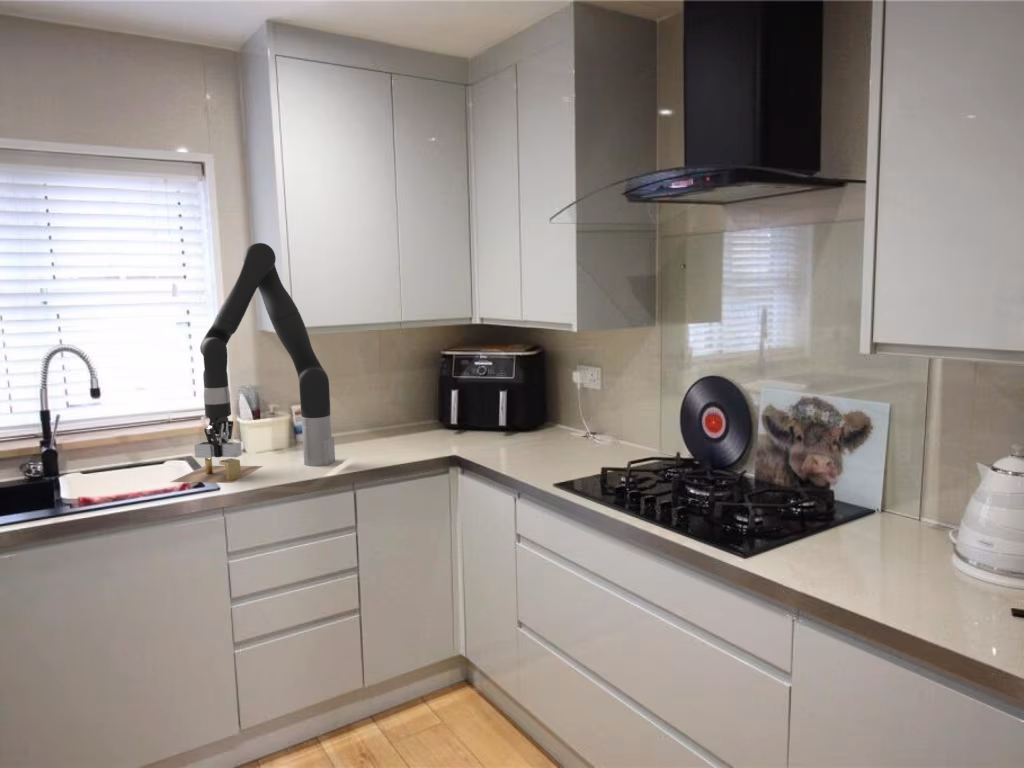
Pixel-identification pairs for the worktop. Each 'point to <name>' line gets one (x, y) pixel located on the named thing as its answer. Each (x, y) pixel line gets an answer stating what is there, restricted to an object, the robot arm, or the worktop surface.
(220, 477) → the board
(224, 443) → the link
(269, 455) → the worktop surface
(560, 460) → the worktop surface
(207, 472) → the cylinder
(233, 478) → the block
